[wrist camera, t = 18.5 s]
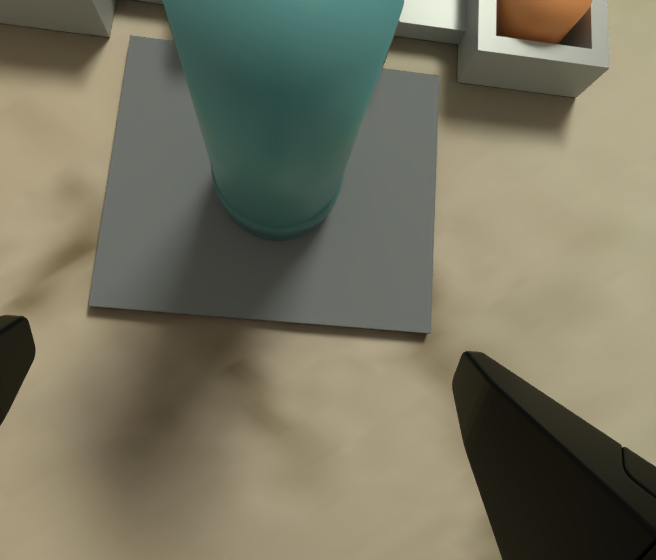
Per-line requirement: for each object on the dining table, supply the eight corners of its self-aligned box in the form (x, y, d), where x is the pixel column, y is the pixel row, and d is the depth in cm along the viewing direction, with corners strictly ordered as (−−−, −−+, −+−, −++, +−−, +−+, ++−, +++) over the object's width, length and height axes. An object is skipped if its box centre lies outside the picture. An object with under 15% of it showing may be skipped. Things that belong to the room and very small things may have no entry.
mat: (427, 333, 22) (430, 333, 22) (91, 306, 21) (88, 305, 20) (436, 80, 24) (439, 75, 24) (132, 41, 23) (130, 35, 22)
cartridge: (233, 255, 21) (185, 113, 10) (203, 142, 22) (125, -121, 10) (352, 226, 22) (443, 61, 10) (319, 117, 23) (370, -154, 11)
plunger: (498, 70, 24) (530, 29, 21) (475, 4, 25) (502, -45, 22) (565, 56, 25) (605, 14, 22) (541, -9, 25) (577, -58, 22)
